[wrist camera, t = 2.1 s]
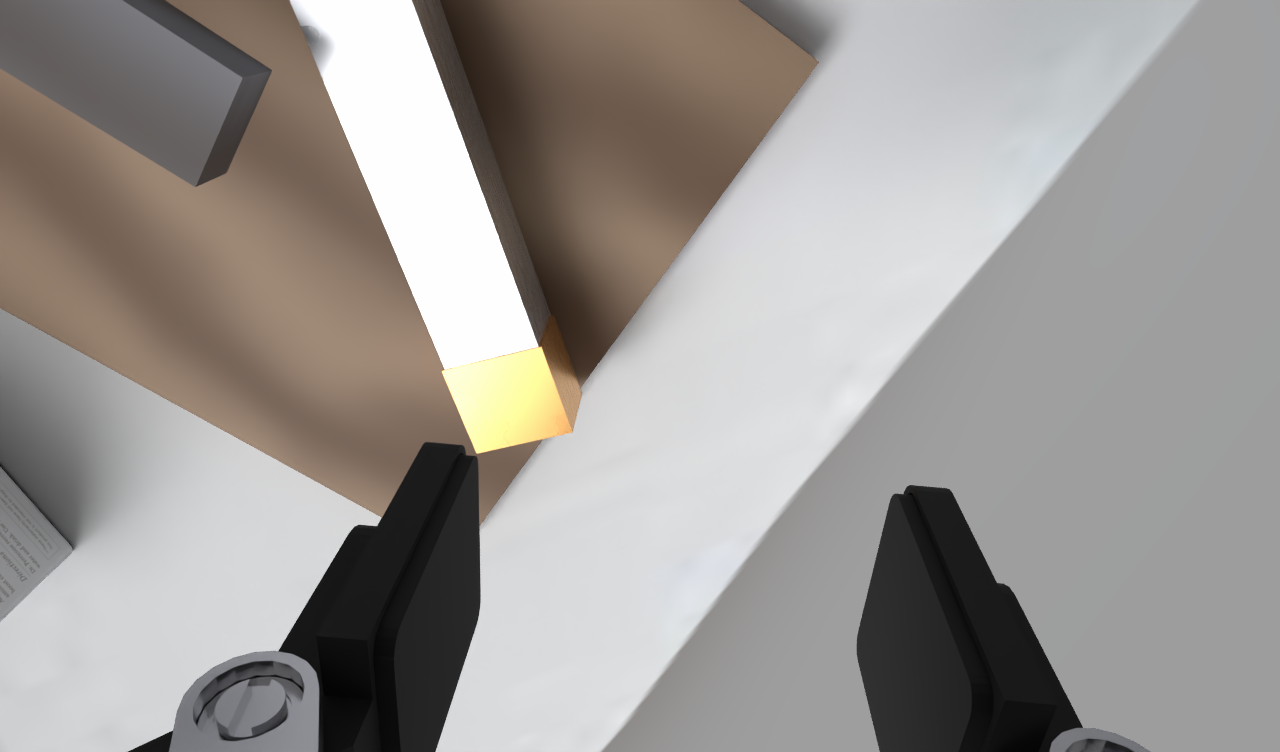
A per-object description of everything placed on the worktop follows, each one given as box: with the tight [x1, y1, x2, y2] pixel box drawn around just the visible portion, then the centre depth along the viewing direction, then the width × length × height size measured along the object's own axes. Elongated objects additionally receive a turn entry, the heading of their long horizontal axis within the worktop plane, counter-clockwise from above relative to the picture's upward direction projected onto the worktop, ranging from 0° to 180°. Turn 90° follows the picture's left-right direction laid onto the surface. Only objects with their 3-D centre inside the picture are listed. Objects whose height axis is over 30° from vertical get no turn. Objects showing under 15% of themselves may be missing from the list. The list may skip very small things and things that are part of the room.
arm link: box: [290, 0, 582, 454], centre depth 22 cm, size 19×4×8 cm, turn 16°
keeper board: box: [0, 0, 819, 526], centre depth 24 cm, size 22×22×8 cm
